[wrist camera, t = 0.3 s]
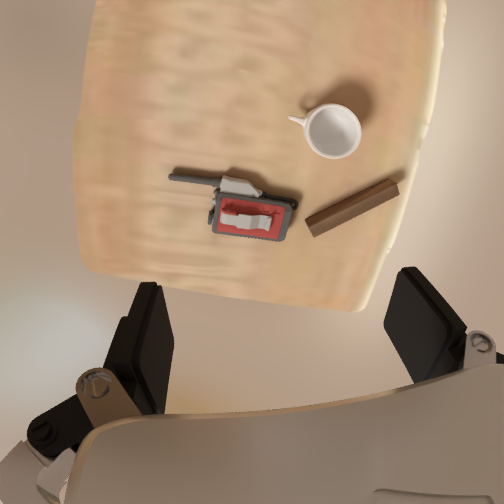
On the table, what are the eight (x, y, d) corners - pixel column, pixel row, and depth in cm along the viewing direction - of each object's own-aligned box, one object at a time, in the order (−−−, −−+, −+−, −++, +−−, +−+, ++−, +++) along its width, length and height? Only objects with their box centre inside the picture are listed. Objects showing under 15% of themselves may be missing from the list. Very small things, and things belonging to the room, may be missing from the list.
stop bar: (304, 219, 48) (309, 227, 46) (388, 178, 46) (396, 183, 43) (309, 229, 49) (313, 237, 46) (391, 188, 46) (399, 194, 44)
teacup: (353, 112, 40) (368, 115, 35) (339, 158, 44) (351, 166, 39) (291, 91, 38) (299, 90, 34) (277, 140, 42) (283, 145, 37)
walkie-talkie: (300, 187, 46) (170, 167, 43) (306, 196, 42) (164, 174, 39) (287, 237, 50) (165, 220, 47) (292, 249, 46) (160, 232, 43)
